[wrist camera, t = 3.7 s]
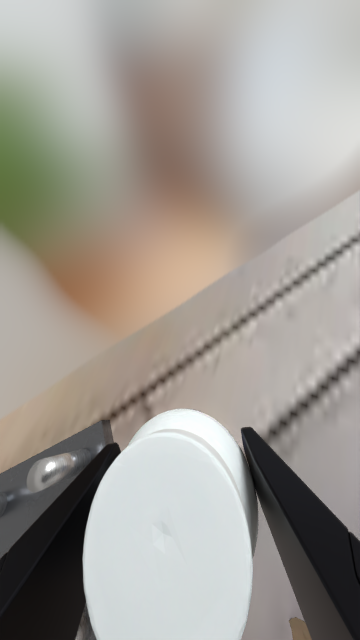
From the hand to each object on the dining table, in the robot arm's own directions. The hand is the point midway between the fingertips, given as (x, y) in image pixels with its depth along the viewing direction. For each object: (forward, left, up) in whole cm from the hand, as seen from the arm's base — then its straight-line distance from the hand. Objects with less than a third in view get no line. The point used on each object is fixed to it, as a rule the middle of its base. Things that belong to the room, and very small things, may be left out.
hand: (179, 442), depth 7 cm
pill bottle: (-1, 0, -7) cm, 7 cm away
